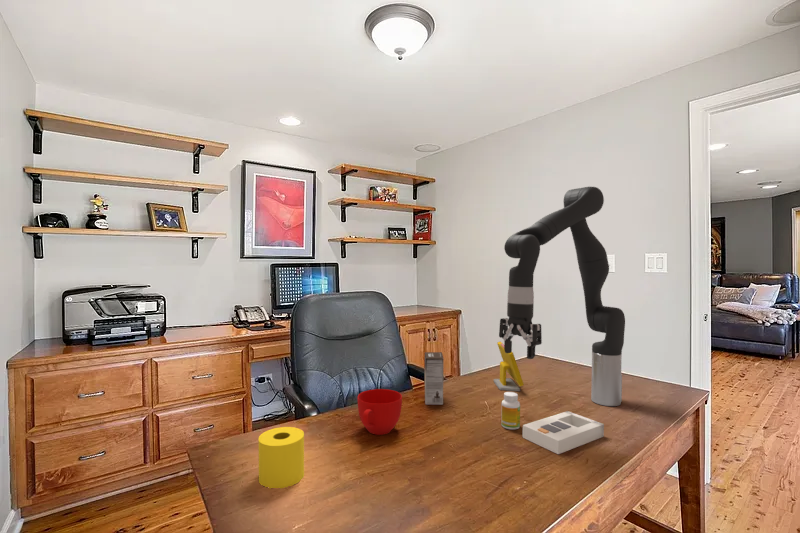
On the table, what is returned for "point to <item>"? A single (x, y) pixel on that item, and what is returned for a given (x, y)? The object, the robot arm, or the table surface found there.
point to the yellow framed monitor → (511, 368)
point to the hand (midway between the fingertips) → (518, 355)
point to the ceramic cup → (379, 410)
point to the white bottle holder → (563, 431)
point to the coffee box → (434, 378)
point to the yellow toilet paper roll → (281, 457)
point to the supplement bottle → (510, 411)
